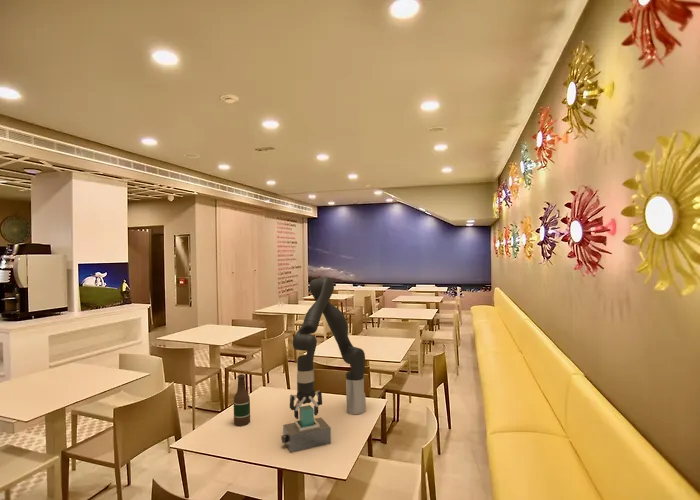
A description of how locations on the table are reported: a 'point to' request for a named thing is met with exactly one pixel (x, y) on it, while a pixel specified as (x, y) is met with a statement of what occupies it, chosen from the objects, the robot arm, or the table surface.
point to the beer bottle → (241, 403)
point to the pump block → (306, 416)
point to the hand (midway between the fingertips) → (306, 416)
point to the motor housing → (306, 435)
